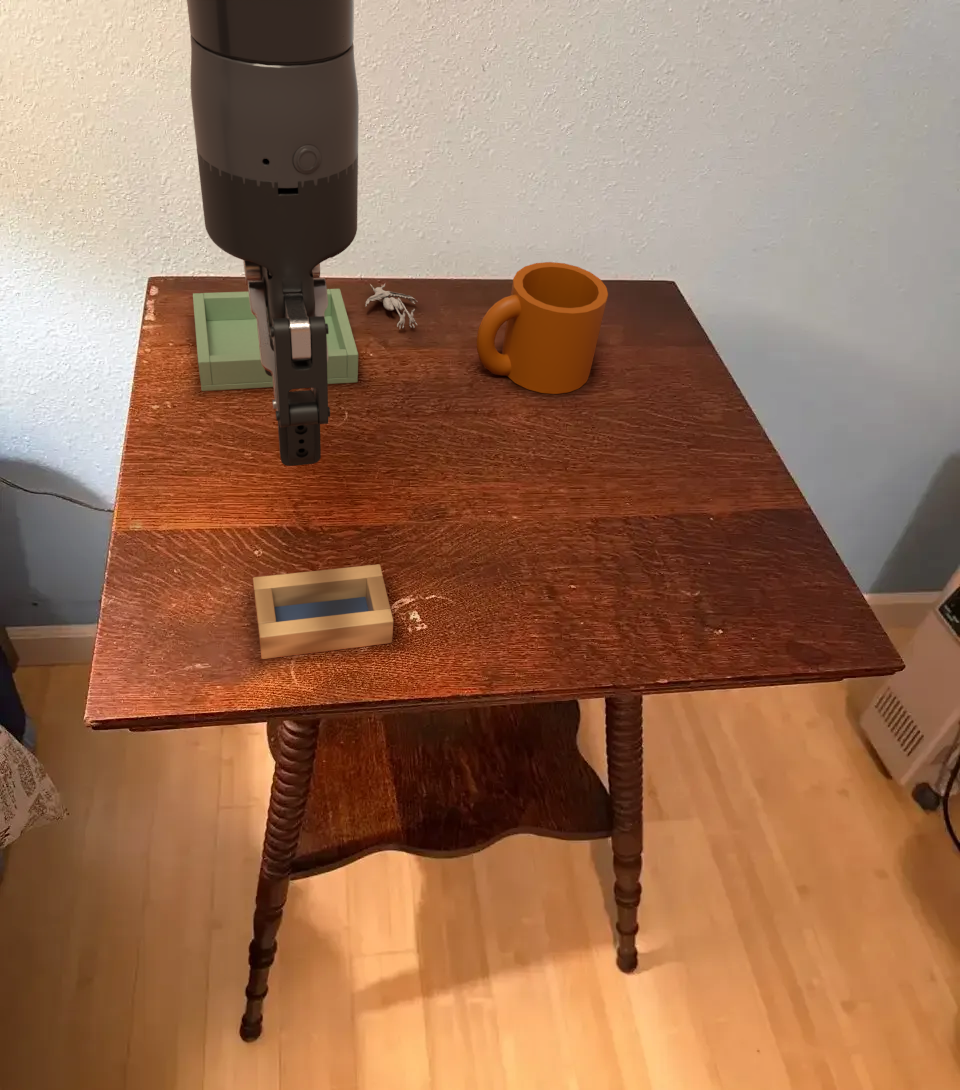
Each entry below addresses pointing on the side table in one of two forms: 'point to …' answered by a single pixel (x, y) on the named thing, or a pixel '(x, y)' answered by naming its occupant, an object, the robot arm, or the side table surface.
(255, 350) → the holder
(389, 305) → the figurine
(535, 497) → the side table surface
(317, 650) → the frame
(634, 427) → the side table surface
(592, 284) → the mug
